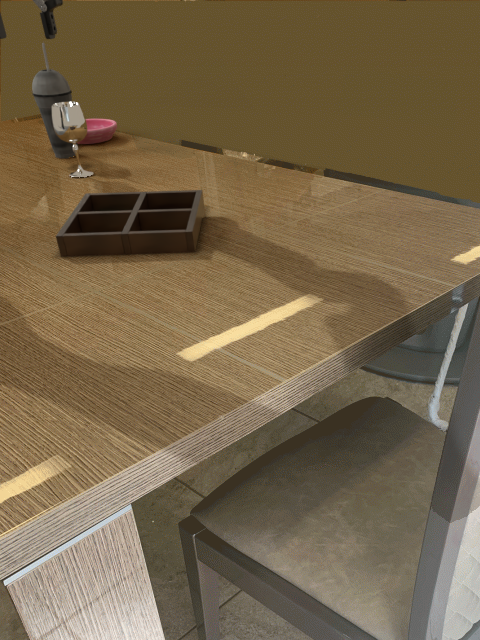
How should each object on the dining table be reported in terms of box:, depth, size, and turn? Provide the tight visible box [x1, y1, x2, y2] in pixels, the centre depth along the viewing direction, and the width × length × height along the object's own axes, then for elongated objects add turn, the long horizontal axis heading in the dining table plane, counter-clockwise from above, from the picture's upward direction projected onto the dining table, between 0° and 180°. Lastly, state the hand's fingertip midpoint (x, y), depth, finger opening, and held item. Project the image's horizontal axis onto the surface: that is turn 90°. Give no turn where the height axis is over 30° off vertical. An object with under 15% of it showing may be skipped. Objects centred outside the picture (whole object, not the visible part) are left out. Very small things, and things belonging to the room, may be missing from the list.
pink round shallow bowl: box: [77, 118, 118, 145], centre depth 141 cm, size 12×12×3 cm
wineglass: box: [52, 101, 95, 179], centre depth 117 cm, size 6×6×12 cm
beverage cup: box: [31, 42, 78, 159], centre depth 125 cm, size 7×7×20 cm
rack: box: [55, 189, 206, 258], centre depth 93 cm, size 18×18×4 cm
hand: (26, 38), depth 106 cm, fingers open, 8 cm apart
